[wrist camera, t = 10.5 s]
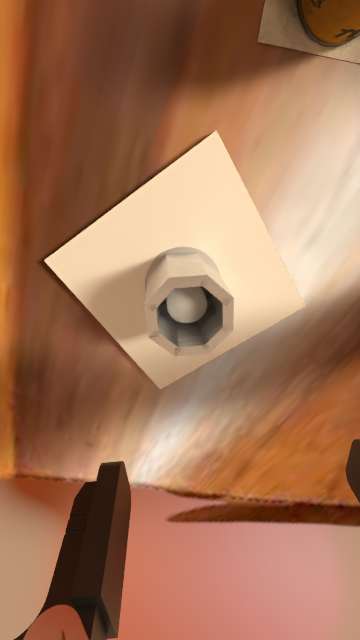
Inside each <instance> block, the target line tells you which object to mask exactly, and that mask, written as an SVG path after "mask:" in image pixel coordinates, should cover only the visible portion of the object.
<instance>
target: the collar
mask: <svg viewBox="0 0 360 640" xmlns="http://www.w3.org/2000/svg"><path fill="white" fill-rule="evenodd" d="M198 286H203V287H204V288H205V289H207V290H208V291H209V295H208V296H207V297H206V300H207V308H206V311H205V313H204V315H203V316H202V317H201V318H200V319H198V320H197V321H195V322H192V323H181V322H178V321H176V320H175V319H173V318H172V317H171V316H170V314H169V312H168V309H167V304H166V303H165V302H164V301H163V300H164V299H165V298H166V297H167V296H168V295H169V294H170V293H171V291H172V290H173V289H174V288H186V287H198ZM144 307H145V315H146V322H147V330H148V338H150V339H151V340H152V341H154V342H155V343H157V344H158V345H159V346H161V347H162V348H164V349H165V350H167V351H168V352H169V353H171V354H172V355H174V356H175V357H177V356H188V355H200V354H209V353H210V352H211V351H212V350H213V349H215V348H216V347H217V346H218V345H219V344H220V343H221V342H222V341H223V340H224V339H225V338H226V337H227V336H228V335H229V334H230V333H231V332H232V331H233V319H234V297H233V296H232V294H231V292H230V291H229V289H228V287H227V286H226V284H225V282H224V281H223V279H222V277H221V276H220V274H219V272H218V271H217V269H215V268H214V267H213V266H212V265H211V264H210V263H209V262H208V261H206V260H205V259H204V258H203V257H202V256H201V255H200V254H199V253H197V252H196V251H195V252H182V253H169V254H166V255H165V256H164V258H163V259H162V260H161V261H160V262H159V263H158V265H157V266H156V267H155V268H154V269H153V270H152V272H151V273H150V274H149V275H148V281H147V288H146V296H145V303H144Z"/></svg>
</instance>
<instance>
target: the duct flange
mask: <svg viewBox="0 0 360 640" xmlns="http://www.w3.org/2000/svg"><path fill="white" fill-rule="evenodd" d="M195 251H196V252H197V253H199V254H200V255H201V256H202V257H203V258H204V259H205V260H206V261H208V262H209V263H210V264H211V265H212V266H213V267H214V268H215V269H217V271H218V272H219V274H220V276H221V277H222V279H223V281H224V282H225V284H226V286H227V287H228V289H229V291H230V292H231V294H232V296H233V297H234V319H233V331H232V332H231V333H230V334H229V335H228V336H227V337H226V338H225V339H224V340H223V341H222V342H221V343H220V344H219V345H218V346H217V347H216V348H215V349H213V350H212V351H211V352H210V353H209V354H200V355H188V356H177V357H175V356H174V355H172V354H171V353H169V352H168V351H167V350H165V349H164V348H162V347H161V346H159V345H158V344H157V343H155V342H154V341H152V340H151V339H150V338H148V330H147V322H146V315H145V307H144V303H145V296H146V288H147V281H148V275H149V274H150V273H151V272H152V270H153V269H154V268H155V267H156V266H157V265H158V263H159V262H160V261H161V260H162V259H163V258H164V256H165V255H166V254H169V253H182V252H195ZM44 261H45V262H46V263H47V265H48V266H49V267H50V268H51V269H52V270H53V271H54V272H55V273H56V275H57V276H58V277H59V278H60V279H61V280H62V281H63V282H64V283H65V285H66V286H67V287H68V288H69V289H70V290H71V291H72V292H73V293H74V295H75V296H76V297H77V298H78V299H79V300H80V301H81V302H82V303H83V305H84V306H85V307H86V308H87V309H88V310H89V311H90V312H91V313H92V315H93V316H94V317H95V318H96V319H97V320H98V321H99V322H100V323H101V324H102V326H103V327H104V328H105V329H106V330H107V331H108V332H109V333H110V334H111V336H112V337H113V338H114V339H115V340H116V341H117V342H118V343H119V344H120V346H121V347H122V348H123V349H124V350H125V351H126V352H127V353H128V354H129V356H130V357H131V358H132V359H133V360H134V361H135V362H136V363H137V364H138V366H139V367H140V368H141V369H142V370H143V371H144V372H145V373H146V374H147V376H148V377H149V378H150V379H151V380H152V381H153V382H154V383H155V384H156V386H157V387H158V388H159V389H160V390H161V389H162V388H164V387H166V386H168V385H169V384H171V383H173V382H175V381H176V380H178V379H180V378H182V377H183V376H185V375H187V374H189V373H190V372H192V371H194V370H196V369H197V368H199V367H201V366H203V365H204V364H206V363H208V362H209V361H211V360H213V359H215V358H216V357H218V356H220V355H222V354H223V353H225V352H227V351H229V350H230V349H232V348H234V347H236V346H237V345H239V344H241V343H243V342H244V341H246V340H248V339H249V338H251V337H253V336H255V335H256V334H258V333H260V332H262V331H263V330H265V329H267V328H269V327H270V326H272V325H274V324H276V323H277V322H279V321H281V320H283V319H284V318H286V317H288V316H289V315H291V314H293V313H295V312H296V311H298V310H300V309H302V308H303V307H305V304H304V302H303V300H302V298H301V296H300V294H299V292H298V290H297V288H296V286H295V284H294V282H293V280H292V278H291V276H290V274H289V272H288V270H287V268H286V266H285V264H284V262H283V260H282V258H281V256H280V254H279V253H278V251H277V249H276V247H275V245H274V243H273V241H272V239H271V237H270V235H269V233H268V231H267V229H266V227H265V225H264V223H263V221H262V219H261V217H260V215H259V213H258V211H257V209H256V207H255V205H254V203H253V201H252V199H251V197H250V195H249V194H248V192H247V190H246V188H245V186H244V184H243V182H242V180H241V178H240V176H239V174H238V172H237V170H236V168H235V166H234V164H233V162H232V160H231V158H230V156H229V154H228V152H227V150H226V148H225V146H224V144H223V142H222V140H221V138H220V137H219V135H218V133H217V131H215V132H214V133H212V134H211V135H210V136H208V137H207V138H206V139H204V140H203V141H202V142H200V143H199V144H198V145H196V146H195V147H194V148H192V149H191V150H190V151H188V152H187V153H186V154H184V155H183V156H182V157H180V158H179V159H178V160H176V161H175V162H174V163H172V164H171V165H170V166H168V167H167V168H166V169H164V170H163V171H162V172H160V173H159V174H158V175H157V176H155V177H154V178H153V179H151V180H150V181H149V182H147V183H146V184H145V185H143V186H142V187H141V188H139V189H138V190H137V191H135V192H134V193H133V194H131V195H130V196H129V197H127V198H126V199H125V200H123V201H122V202H121V203H119V204H118V205H117V206H115V207H114V208H113V209H111V210H110V211H109V212H107V213H106V214H105V215H103V216H102V217H101V218H100V219H98V220H97V221H96V222H94V223H93V224H92V225H90V226H89V227H88V228H86V229H85V230H84V231H82V232H81V233H80V234H78V235H77V236H76V237H74V238H73V239H72V240H70V241H69V242H68V243H66V244H65V245H64V246H62V247H61V248H60V249H58V250H57V251H56V252H54V253H53V254H52V255H50V256H49V257H48V258H47V259H45V260H44ZM208 295H209V291H208V290H207V289H205V288H204V287H203V286H198V287H186V288H174V289H173V290H172V291H171V293H170V294H169V295H168V296H167V297H166V298H165V299H164V300H163V301H164V302H165V303H166V304H167V309H168V312H169V314H170V316H171V317H172V318H173V319H175V320H176V321H178V322H181V323H192V322H195V321H197V320H198V319H200V318H201V317H202V316H203V315H204V313H205V311H206V308H207V300H206V297H207V296H208Z"/></svg>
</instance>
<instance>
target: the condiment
mask: <svg viewBox="0 0 360 640" xmlns="http://www.w3.org/2000/svg"><path fill="white" fill-rule="evenodd" d="M290 5H292V7H293V11H292V10H291V9H290ZM294 12H296V14H297V15H296V16H294ZM257 42H260V43H266V44H271V45H275V46H281V47H286V48H290V49H295V50H299V51H304V52H308V53H312V54H316V55H320V56H326V57H330V58H335V59H339V60H345V61H350V62H354V63H360V0H265V3H264V8H263V13H262V19H261V25H260V30H259V35H258V41H257Z"/></svg>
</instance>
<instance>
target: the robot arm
mask: <svg viewBox="0 0 360 640" xmlns="http://www.w3.org/2000/svg"><path fill="white" fill-rule="evenodd" d="M346 477H347V480H348V483H349V485H350V487H351V489H352V491H353V492H354V494H355V496H356V497H357V499H358V501H359V502H360V439H356V440H354V441H353V442H352V445H351V449H350V453H349V458H348V462H347V466H346ZM130 511H131V491H130V486H129V482H128V477H127V473H126V469H125V464H124V462H123V461H119V462H108V463H102V464H101V465H100V468H99V472H98V476H97V481H94V482H85V484H84V485H83V487H82V488H81V490H80V491H79V493H78V494H77V496H76V497H75V499H74V503H73V506H72V510H71V514H70V519H69V521H68V525H67V528H66V534H65V535H64V539H63V542H62V546H61V549H60V553H59V557H58V560H57V563H56V567H55V571H54V575H53V578H52V582H51V585H50V588H49V592H48V595H47V598H46V601H45V603H44V606H43V608H42V609H41V611H40V613H39V615H38V616H37V618H36V619H35V620H34V622H33V623H32V624H31V625H30V626H29V628H28V629H27V630H25V631H24V632H23V633H22V634H21V635H20V636H18V637H17V638H16V639H14V640H106V639H109V638H117V637H118V628H119V619H120V609H121V598H122V589H123V580H124V570H125V560H126V550H127V540H128V529H129V520H130Z"/></svg>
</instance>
